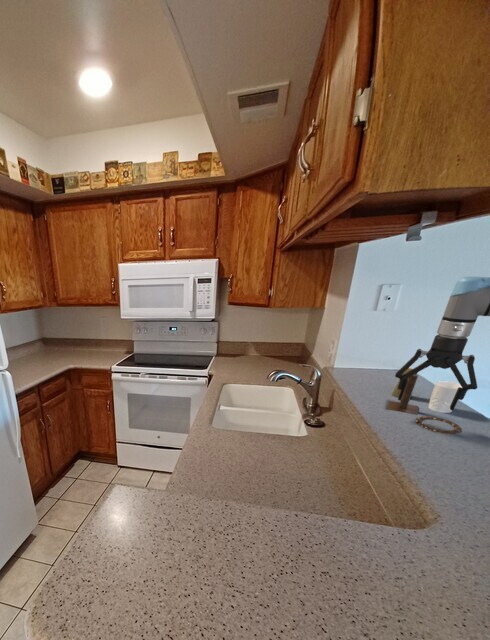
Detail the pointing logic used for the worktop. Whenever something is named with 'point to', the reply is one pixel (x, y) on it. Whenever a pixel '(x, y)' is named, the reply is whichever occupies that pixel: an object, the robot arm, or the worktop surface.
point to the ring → (456, 429)
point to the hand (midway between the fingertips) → (424, 403)
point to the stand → (405, 399)
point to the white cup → (443, 396)
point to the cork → (396, 390)
